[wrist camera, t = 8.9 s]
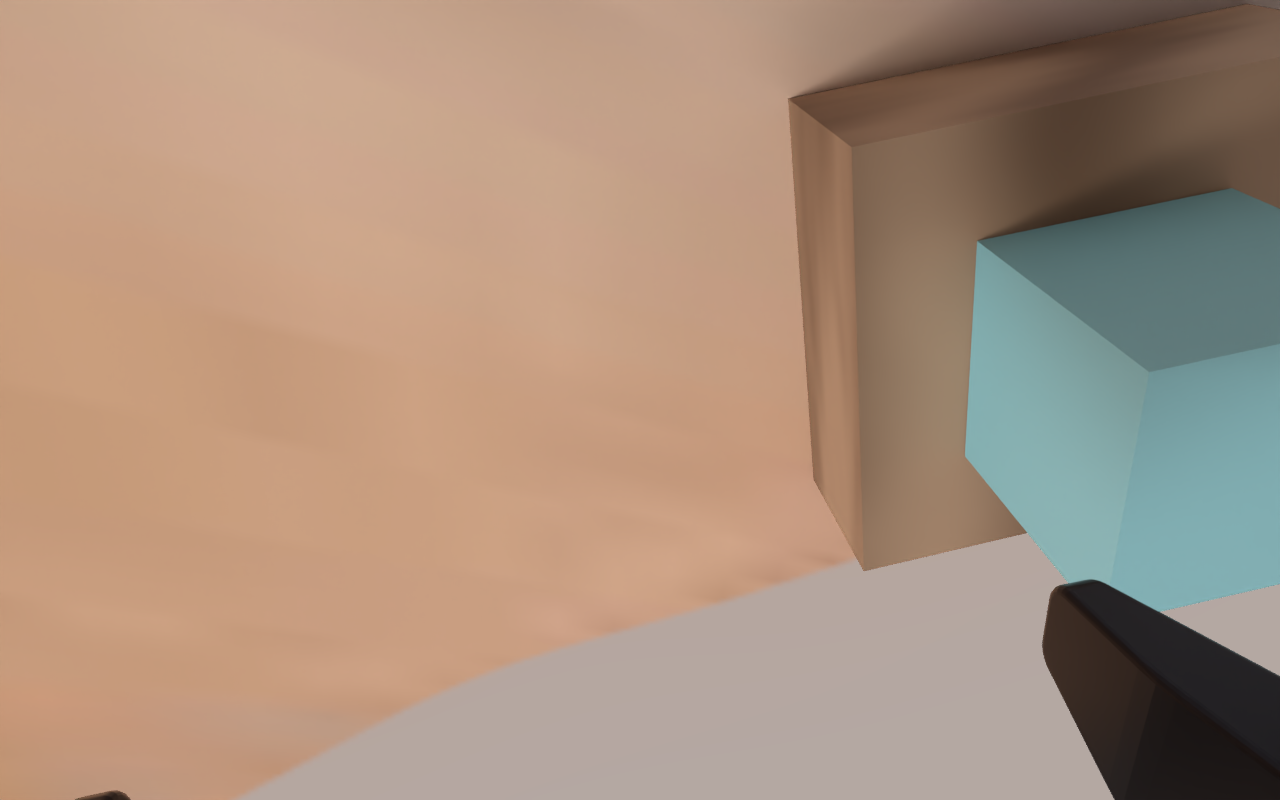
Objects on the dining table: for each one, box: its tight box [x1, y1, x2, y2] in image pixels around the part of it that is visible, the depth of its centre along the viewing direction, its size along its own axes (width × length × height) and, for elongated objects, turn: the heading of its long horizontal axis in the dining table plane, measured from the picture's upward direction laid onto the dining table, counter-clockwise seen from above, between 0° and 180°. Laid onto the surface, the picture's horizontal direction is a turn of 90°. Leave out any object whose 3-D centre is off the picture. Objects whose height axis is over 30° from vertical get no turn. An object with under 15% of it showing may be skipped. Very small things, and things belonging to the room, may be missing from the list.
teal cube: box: [965, 188, 1280, 612], centre depth 16 cm, size 5×5×5 cm
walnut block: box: [788, 4, 1280, 571], centre depth 20 cm, size 10×10×4 cm
